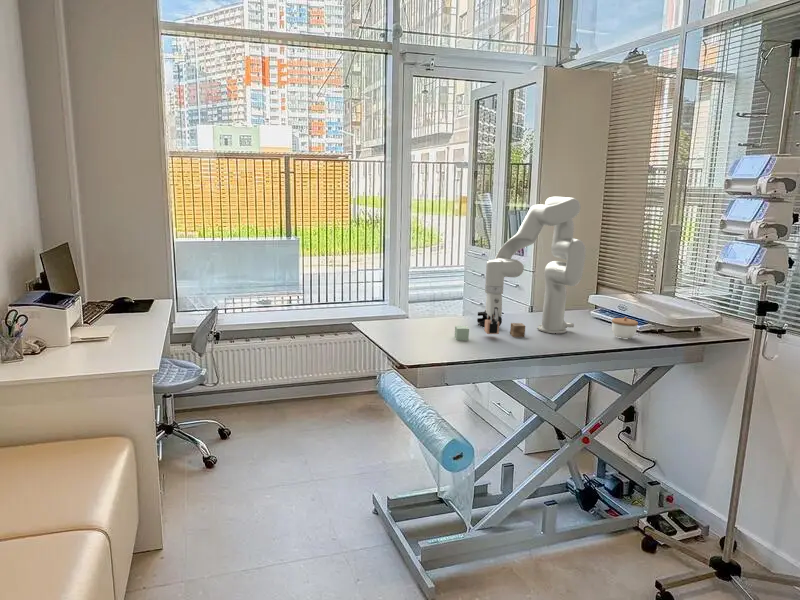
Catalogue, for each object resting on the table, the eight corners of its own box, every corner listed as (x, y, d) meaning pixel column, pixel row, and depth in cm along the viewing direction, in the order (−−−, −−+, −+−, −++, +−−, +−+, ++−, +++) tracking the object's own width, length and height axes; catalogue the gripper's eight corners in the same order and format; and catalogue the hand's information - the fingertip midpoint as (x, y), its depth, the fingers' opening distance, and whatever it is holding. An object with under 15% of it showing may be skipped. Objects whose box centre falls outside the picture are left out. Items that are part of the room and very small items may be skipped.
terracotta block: (495, 330, 256) (496, 319, 255) (498, 333, 251) (499, 322, 250) (484, 330, 256) (485, 319, 255) (487, 333, 251) (487, 322, 250)
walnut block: (521, 334, 261) (522, 323, 260) (524, 337, 257) (525, 326, 256) (510, 334, 261) (510, 323, 260) (513, 337, 256) (514, 325, 255)
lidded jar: (616, 340, 258) (619, 319, 256) (606, 334, 268) (608, 314, 266) (640, 341, 259) (643, 320, 257) (628, 334, 269) (631, 314, 267)
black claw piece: (501, 328, 270) (502, 314, 268) (488, 329, 267) (489, 315, 265) (489, 323, 278) (490, 309, 277) (476, 324, 275) (477, 310, 274)
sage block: (466, 337, 252) (466, 325, 251) (468, 340, 247) (469, 328, 246) (454, 337, 252) (455, 325, 251) (456, 340, 247) (457, 328, 246)
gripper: (508, 293, 242) (505, 336, 245) (497, 285, 258) (495, 326, 262) (490, 293, 241) (487, 336, 245) (480, 285, 257) (478, 326, 261)
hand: (491, 330), depth 253 cm, fingers closed on terracotta block, 5 cm apart
